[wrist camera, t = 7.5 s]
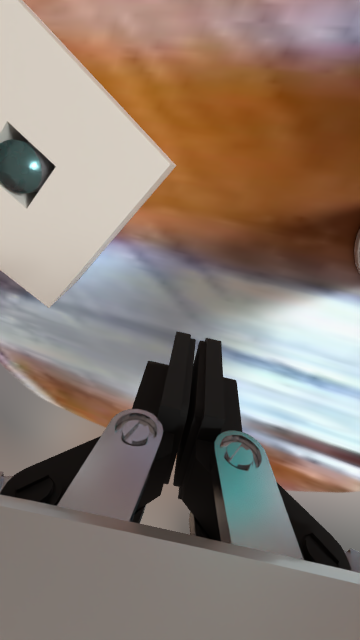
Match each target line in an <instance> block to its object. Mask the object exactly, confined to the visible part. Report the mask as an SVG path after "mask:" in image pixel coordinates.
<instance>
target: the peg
mask: <svg viewBox="0 0 360 640" xmlns="http://www.w3.org/2000/svg"><path fill="white" fill-rule="evenodd" d="M55 167H56V166H55V165H54V164H53V163H52V162H50V161H49V160H48V159H47V158H46V157H45V156H44V155H43V154H42V153H41V152H40V151H39V150H38V149H37V148H36V147H34V146H33V145H32V144H31V143H30V142H26V141H20V140H12V139H11V140H6V141H3V142H2V143H0V181H1V182H2V183H3V184H4V185H5V186H6V187H7V188H8V189H10V190H12V191H14V192H17V193H31V192H39V190H40V189H41V188H42V186H43V185H44V183H45V182H46V180H47V179H48V177H49V176H50V175H51V173H52V172H53V170H54V169H55Z"/></svg>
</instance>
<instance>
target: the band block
mask: <svg viewBox="0 0 360 640" xmlns="http://www.w3.org/2000/svg"><path fill="white" fill-rule="evenodd" d="M11 139H12V140H20V141H26V142H30V143H31V144H32V145H33V146H34V147H36V148H37V149H38V150H39V151H40V152H41V153H42V154H43V155H44V156H45V157H46V158H47V159H48V160H49V161H50V162H52V163H53V164H54V165H55V166H56V167H55V169H54V170H53V172H52V173H51V175H50V176H49V177H48V179H47V180H46V182H45V183H44V185H43V186H42V188H41V189H40V190H39V192H31V193H17V192H14V191H12V190H10V189H8V188H7V187H6V186H5V185H4V184H3V183H2V182H1V181H0V270H1V271H2V272H3V273H5V274H6V275H7V276H8V277H10V278H11V279H12V280H14V281H15V282H16V283H17V284H19V285H20V286H21V287H23V288H24V289H25V290H26V291H28V292H29V293H30V294H32V295H33V296H34V297H35V298H37V299H38V300H39V301H41V302H42V303H43V304H44V305H46V306H47V307H48V308H49V307H50V306H52V305H53V304H54V303H55V302H56V301H57V300H58V299H59V298H60V297H61V296H62V295H63V294H64V293H65V292H66V291H68V290H69V289H70V288H71V287H72V286H73V285H74V284H75V283H76V282H77V281H78V280H79V279H80V277H81V276H82V275H83V274H84V273H85V272H86V270H87V269H88V268H89V267H90V266H91V265H92V263H93V262H94V261H95V260H96V259H97V258H98V256H99V255H100V254H101V253H102V252H103V251H104V249H105V248H106V247H107V246H108V245H109V244H110V242H111V241H112V240H113V239H114V238H115V237H116V235H117V234H118V233H119V232H120V231H121V230H122V228H123V227H124V226H125V225H126V224H127V223H128V221H129V220H130V219H131V218H132V217H133V216H134V214H135V213H136V212H137V211H138V210H139V209H140V207H141V206H142V205H143V204H144V203H145V202H146V200H147V199H148V198H149V197H150V196H151V195H152V193H153V192H154V191H155V190H156V189H157V188H158V186H159V185H160V184H161V183H162V182H163V181H164V179H165V178H166V177H167V176H168V175H169V174H170V172H171V171H172V170H173V169H174V168H175V167H176V165H175V164H174V163H173V162H172V161H171V159H170V158H169V157H168V156H167V155H166V154H165V153H164V152H163V151H162V150H161V149H160V148H159V147H158V145H157V144H156V143H155V142H154V141H153V140H152V139H151V138H150V137H149V136H148V135H147V134H146V133H145V131H144V130H143V129H142V128H141V127H140V126H139V125H138V124H137V123H136V122H135V121H134V120H133V119H132V117H131V116H130V115H129V114H128V113H127V112H126V111H125V110H124V109H123V108H122V107H121V106H120V105H119V103H118V102H117V101H116V100H115V99H114V98H113V97H112V96H111V95H110V94H109V93H108V92H107V91H106V89H105V88H104V87H103V86H102V85H101V84H100V83H99V82H98V81H97V80H96V79H95V78H94V77H93V75H92V74H91V73H90V72H89V71H88V70H87V69H86V68H85V67H84V66H83V65H82V64H81V62H80V61H79V60H78V59H77V58H76V57H75V56H74V55H73V54H72V53H71V52H70V51H69V50H68V48H67V47H66V46H65V45H64V44H63V43H62V42H61V41H60V40H59V39H58V38H57V37H56V36H55V34H54V33H53V32H52V31H51V30H50V29H49V28H48V27H47V26H46V25H45V24H44V23H43V22H42V20H41V19H40V18H39V17H38V16H37V15H36V14H35V13H34V12H33V11H32V10H31V9H30V8H29V6H27V5H26V4H25V3H24V2H23V1H22V0H0V143H2V142H3V141H6V140H11Z"/></svg>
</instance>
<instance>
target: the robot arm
mask: <svg viewBox="0 0 360 640" xmlns="http://www.w3.org/2000/svg"><path fill="white" fill-rule="evenodd" d="M354 258H355V264H356V267H357V269H358V272H359V274H360V229H359V231H358V233H357V237H356V241H355V248H354ZM190 337H191V335H190V334H186V333H181V332H176V336H175V341H174V345H173V350H172V354H171V359H170V363H169V365H165V364H161V363H156V362H152V361H148V363H147V366H146V369H145V372H144V375H143V378H142V381H141V384H140V386H139V389H138V392H137V395H136V398H135V401H134V404H133V407H132V409H128V410H125V411H122V412H120V413H118V414H116V415H115V416H114V418H113V419H112V420H111V421H110V423H109V424H108V426H107V428H106V429H105V431H104V432H103V434H102V435H101V436H100V437H98V438H96V439H93V440H91V441H88V442H86V443H84V444H82V445H79V446H77V447H75V448H72V449H70V450H67V451H65V452H63V453H61V454H58V455H56V456H54V457H51V458H49V459H47V460H44V461H42V462H40V463H37V464H35V465H33V466H30V467H28V468H26V469H24V470H22V471H20V472H19V473H17V474H16V475H14V476H4V474H3V472H0V640H360V552H358V551H356V550H353V549H351V548H350V549H349V550H348V551H347V552H346V551H344V550H343V549H342V547H341V546H340V545H339V543H338V542H337V541H336V540H335V539H334V538H333V536H332V535H331V534H330V533H329V532H327V531H326V530H325V529H324V528H323V527H322V526H321V525H320V524H319V523H318V522H317V521H316V520H315V519H314V518H313V517H312V516H311V515H310V514H309V513H308V512H307V511H306V510H305V509H304V508H303V507H302V506H301V505H300V504H299V503H298V502H296V501H295V500H294V499H293V498H292V497H291V496H290V495H289V494H288V493H287V492H286V491H285V490H284V489H283V488H282V487H281V486H280V485H279V484H278V483H277V482H276V480H275V477H274V474H273V472H272V469H271V466H270V463H269V460H268V457H267V455H266V452H265V451H264V449H263V447H262V446H261V445H260V443H259V442H258V441H257V440H255V439H254V438H253V437H251V436H250V435H248V434H246V433H243V432H242V425H241V416H240V407H239V399H238V390H237V383H236V380H233V379H229V378H224V377H223V369H222V349H221V341H217V340H213V339H208V338H206V340H205V342H204V341H200V342H199V345H198V349H197V353H196V356H195V360H194V351H195V341H196V340H195V339H191V338H190ZM193 361H194V364H193ZM176 455H177V458H176ZM175 458H176V467H175V475H174V483H173V485H174V486H178V487H179V495H178V498H179V499H182V500H183V502H184V503H185V505H186V506H187V507H188V509H189V510H190V514H189V528H190V535H188V534H184V533H179V532H175V531H170V530H166V529H161V528H157V527H152V526H148V525H143V524H140V521H141V519H142V516H143V513H144V510H145V506H146V504H147V503H149V502H151V501H152V500H154V499H155V498H157V497H158V496H160V495H161V491H162V487H163V484H168V483H169V479H170V476H171V472H172V469H173V465H174V462H175Z"/></svg>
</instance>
